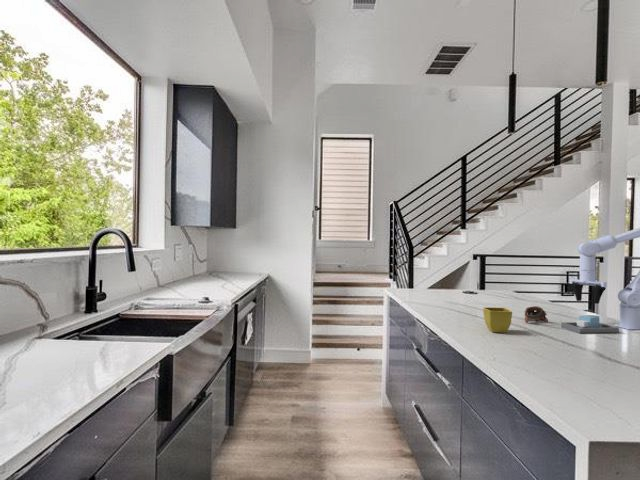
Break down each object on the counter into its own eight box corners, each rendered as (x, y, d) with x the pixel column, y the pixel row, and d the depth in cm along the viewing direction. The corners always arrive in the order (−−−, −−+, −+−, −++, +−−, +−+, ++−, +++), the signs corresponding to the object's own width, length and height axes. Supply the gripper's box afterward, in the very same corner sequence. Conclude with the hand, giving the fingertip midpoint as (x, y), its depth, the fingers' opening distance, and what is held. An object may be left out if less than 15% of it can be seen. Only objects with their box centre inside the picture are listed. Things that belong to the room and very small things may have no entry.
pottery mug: (554, 325, 175) (550, 310, 173) (535, 335, 175) (530, 320, 172) (536, 313, 186) (532, 299, 184) (518, 322, 186) (513, 308, 184)
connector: (590, 326, 168) (590, 314, 168) (601, 328, 164) (601, 316, 164) (575, 328, 164) (575, 316, 164) (585, 331, 160) (585, 318, 160)
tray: (597, 326, 170) (597, 321, 170) (618, 333, 158) (618, 328, 158) (561, 327, 169) (561, 322, 169) (580, 333, 158) (580, 328, 158)
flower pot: (504, 329, 166) (504, 307, 166) (512, 334, 157) (512, 311, 157) (482, 328, 167) (482, 307, 167) (489, 333, 158) (489, 310, 158)
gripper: (565, 269, 178) (565, 300, 178) (598, 271, 165) (598, 305, 165) (576, 269, 181) (576, 299, 181) (609, 271, 167) (609, 304, 168)
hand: (587, 302), depth 173 cm, fingers open, 7 cm apart
